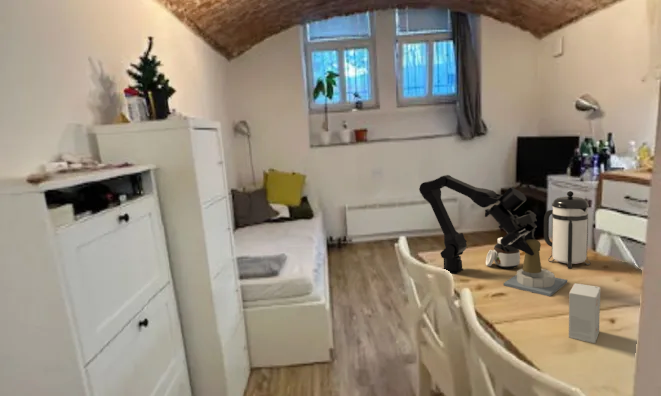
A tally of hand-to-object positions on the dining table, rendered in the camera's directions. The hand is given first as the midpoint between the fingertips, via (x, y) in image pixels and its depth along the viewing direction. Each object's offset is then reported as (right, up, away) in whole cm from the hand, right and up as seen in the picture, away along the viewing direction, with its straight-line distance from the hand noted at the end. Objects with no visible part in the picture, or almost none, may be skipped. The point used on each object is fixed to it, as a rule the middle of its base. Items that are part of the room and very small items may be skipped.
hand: (536, 252), depth 140 cm
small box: (-2, -19, -30) cm, 35 cm away
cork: (0, -7, +2) cm, 7 cm away
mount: (+3, -12, +6) cm, 14 cm away
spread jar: (-1, -9, +27) cm, 28 cm away
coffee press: (+25, -8, +26) cm, 37 cm away
